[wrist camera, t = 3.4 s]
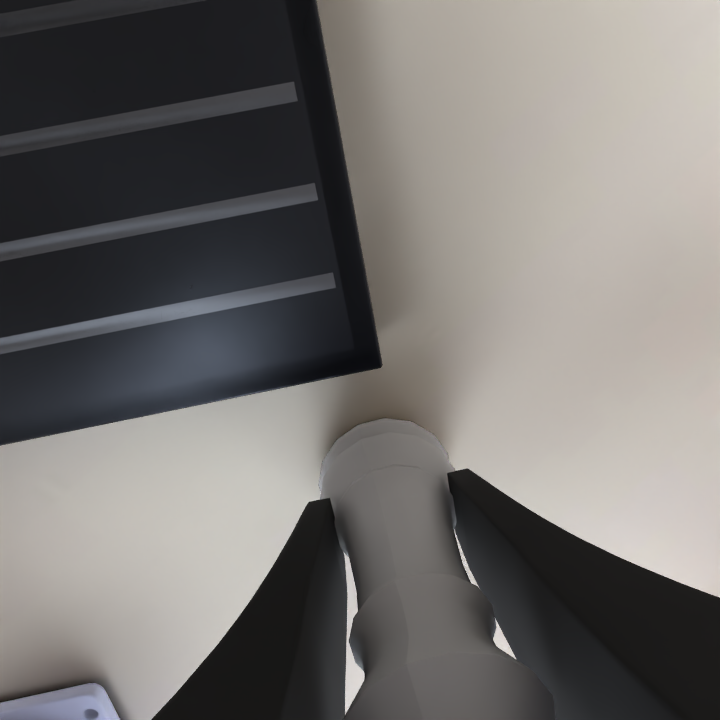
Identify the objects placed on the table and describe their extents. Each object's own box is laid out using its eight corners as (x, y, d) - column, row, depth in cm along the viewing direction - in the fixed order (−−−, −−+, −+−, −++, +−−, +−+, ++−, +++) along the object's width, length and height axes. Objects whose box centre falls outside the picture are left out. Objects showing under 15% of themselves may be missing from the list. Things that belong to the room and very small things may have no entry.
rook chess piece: (296, 446, 11) (209, 808, 4) (419, 390, 11) (605, 644, 3) (352, 545, 12) (378, 990, 5) (465, 496, 12) (685, 873, 5)
